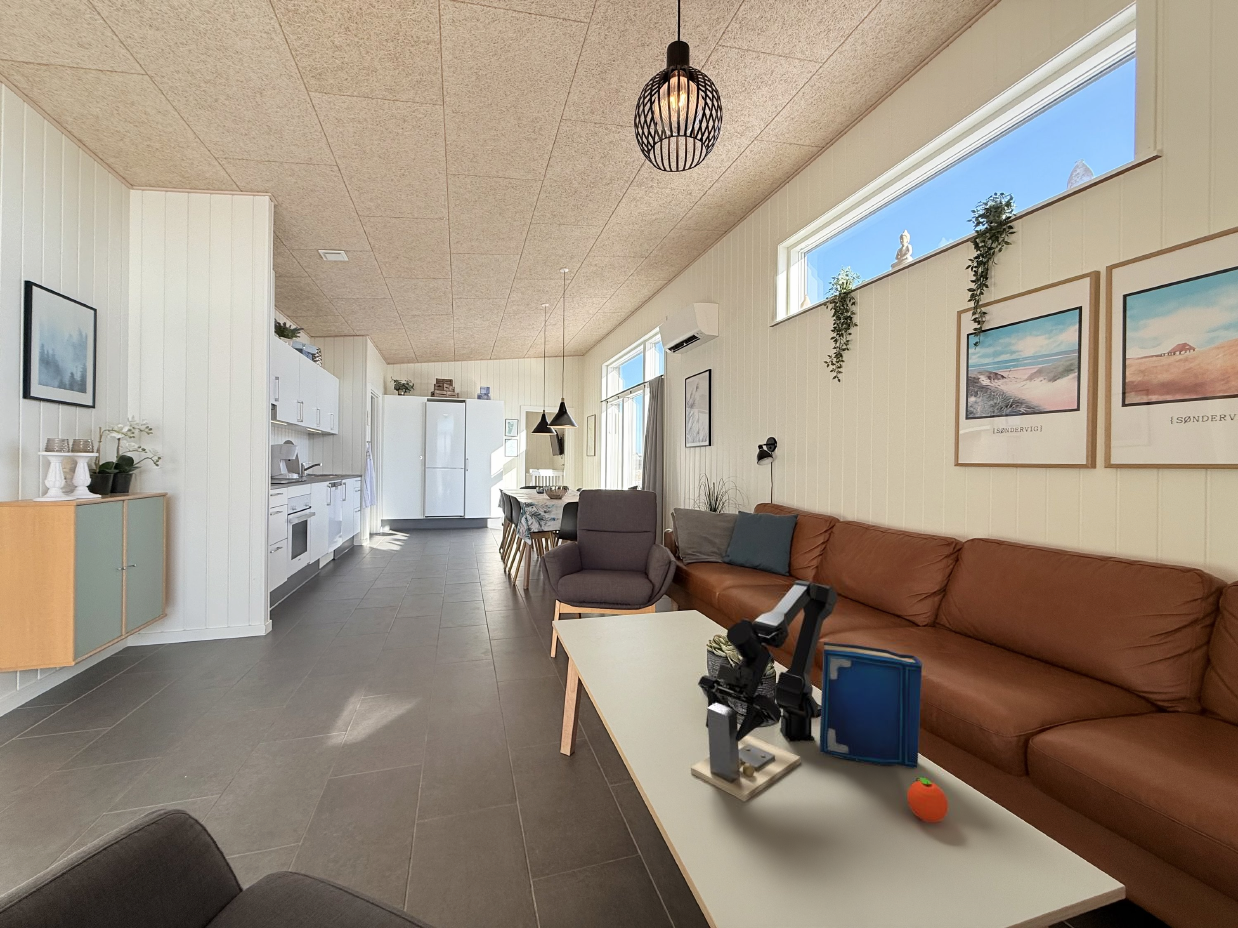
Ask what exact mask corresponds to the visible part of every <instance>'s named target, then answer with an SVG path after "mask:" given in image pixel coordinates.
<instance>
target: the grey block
mask: <svg viewBox="0 0 1238 928" xmlns="http://www.w3.org/2000/svg"><path fill="white" fill-rule="evenodd" d="M706 710H707V711H706V712H707V713H706V716H707V715H708V728H707V730H708V731H707V733H708V751H709V757H710V773H712V774H714V775H716V776H718V777H720V778H722V779H724V780H726V781H727V782H729V783H731V784H732V783H733V782H734V781H735V780H737V779H738V778H739V777H740V769H741V767H742V765H743V760H742V759H741V758H739V747H738V741H736V739H735V738H736V735H737V732H738V730H739V728H738V727H739V726H738V710H735V709H733V708H731V707H729V706H726V705H724V706H723V705H721V704H718V703H714V704H713V705H711V706H709V707H708V706H707V707H706Z"/></svg>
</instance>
